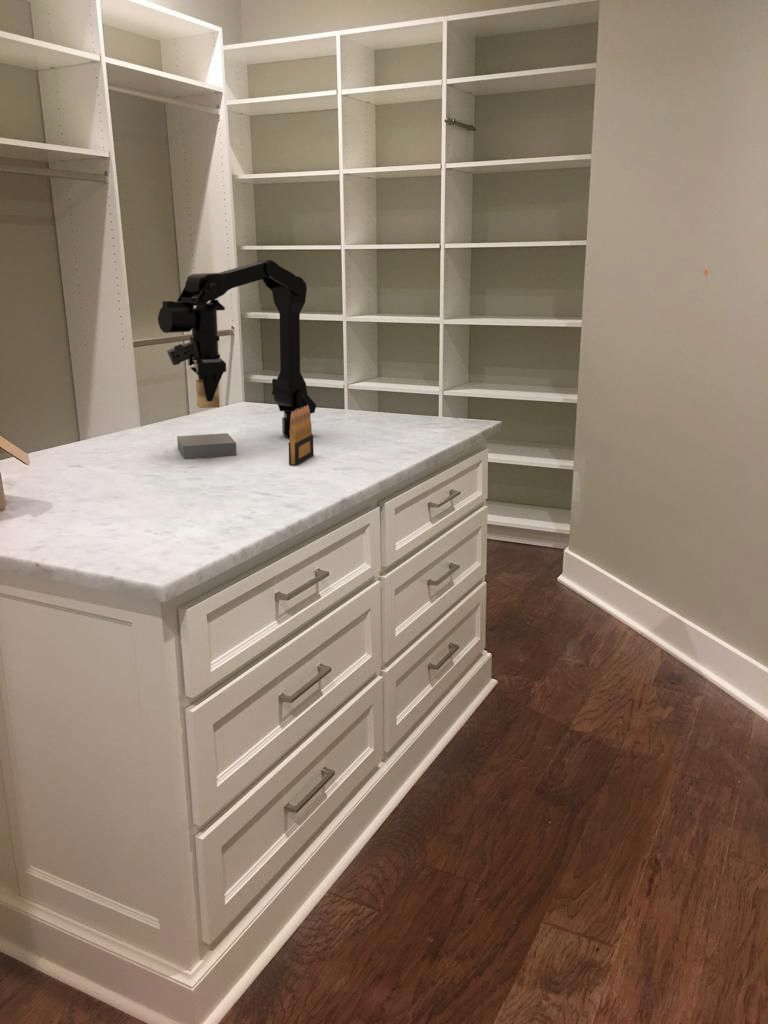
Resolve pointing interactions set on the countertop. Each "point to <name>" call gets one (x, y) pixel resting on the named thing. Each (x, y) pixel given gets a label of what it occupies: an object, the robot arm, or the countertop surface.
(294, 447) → the ammunition clip
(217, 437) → the slate base
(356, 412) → the countertop surface
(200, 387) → the wooden block
